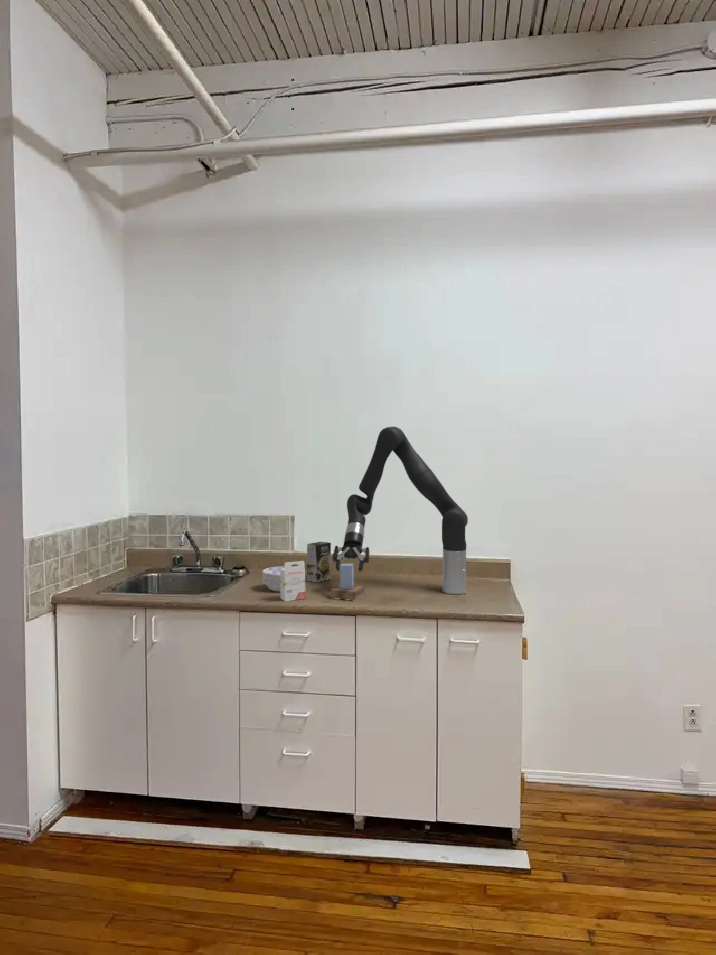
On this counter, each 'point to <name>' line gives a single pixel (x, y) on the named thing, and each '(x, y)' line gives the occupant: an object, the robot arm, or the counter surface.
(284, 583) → the ink cartridge box
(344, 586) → the slate block
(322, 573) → the coffee box
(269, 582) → the paper bowls
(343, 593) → the walnut block
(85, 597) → the counter surface
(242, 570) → the counter surface
